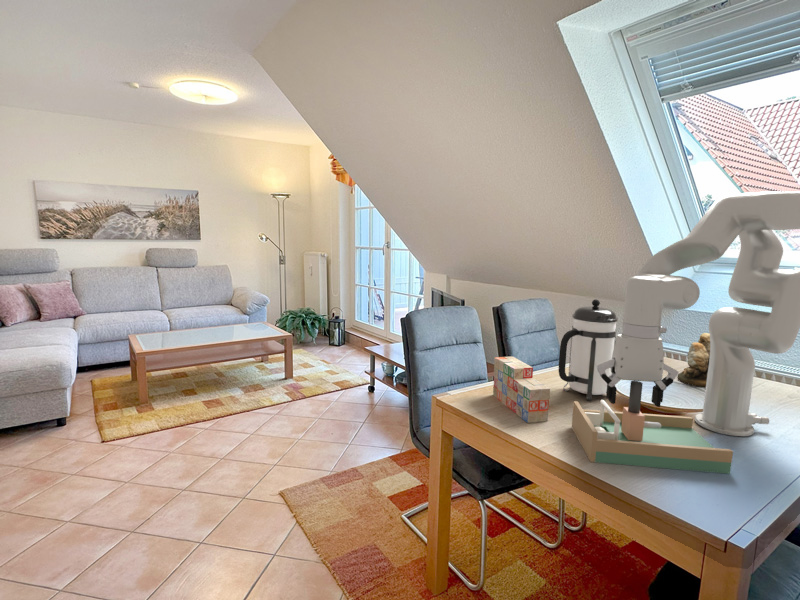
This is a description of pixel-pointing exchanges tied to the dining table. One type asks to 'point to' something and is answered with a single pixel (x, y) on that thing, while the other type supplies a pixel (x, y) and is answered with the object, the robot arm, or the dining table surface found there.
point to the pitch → (647, 442)
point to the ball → (600, 429)
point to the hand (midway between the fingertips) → (633, 403)
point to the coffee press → (588, 349)
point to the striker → (635, 415)
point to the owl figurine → (697, 363)
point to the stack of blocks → (520, 389)
